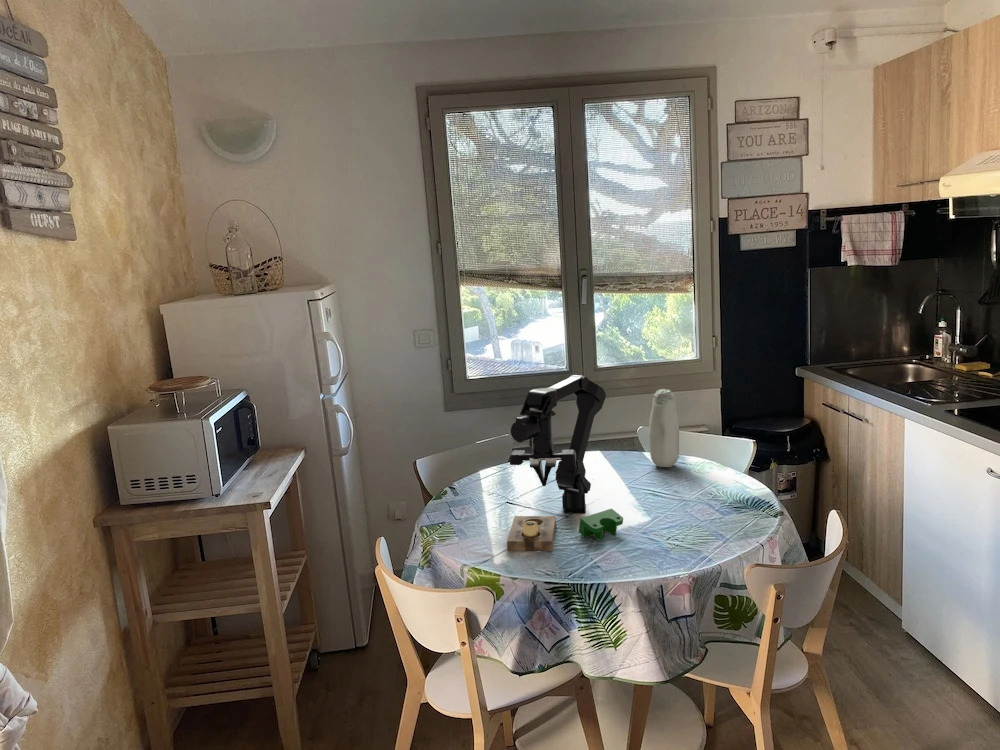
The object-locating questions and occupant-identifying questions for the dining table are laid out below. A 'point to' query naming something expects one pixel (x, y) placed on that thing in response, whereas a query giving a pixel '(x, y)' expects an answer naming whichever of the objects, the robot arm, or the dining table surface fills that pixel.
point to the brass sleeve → (530, 529)
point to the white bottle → (664, 429)
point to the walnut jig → (532, 544)
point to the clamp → (600, 523)
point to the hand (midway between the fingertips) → (544, 485)
